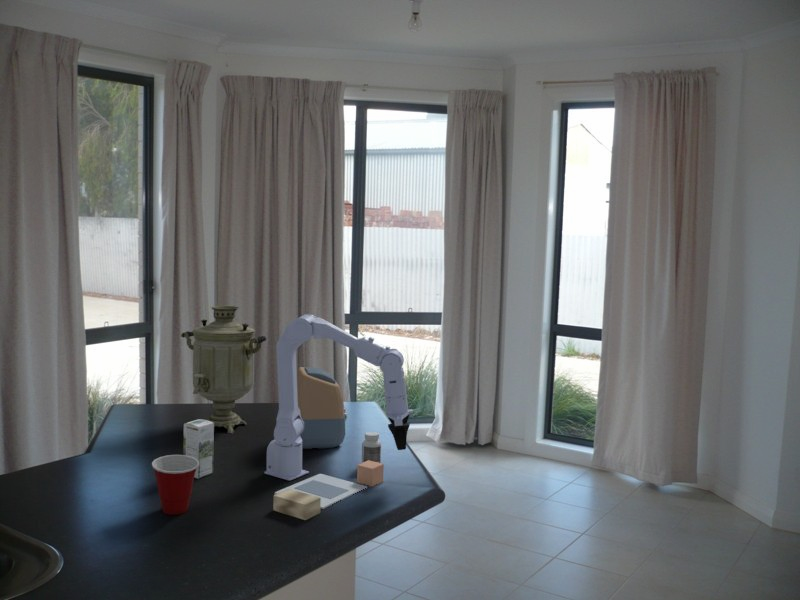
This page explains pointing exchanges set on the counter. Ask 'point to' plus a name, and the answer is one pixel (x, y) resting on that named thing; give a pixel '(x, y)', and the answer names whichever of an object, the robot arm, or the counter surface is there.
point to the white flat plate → (326, 488)
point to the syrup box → (200, 445)
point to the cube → (370, 473)
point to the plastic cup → (175, 481)
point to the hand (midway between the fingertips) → (401, 445)
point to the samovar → (223, 363)
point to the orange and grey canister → (320, 409)
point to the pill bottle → (371, 447)
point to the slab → (296, 504)
